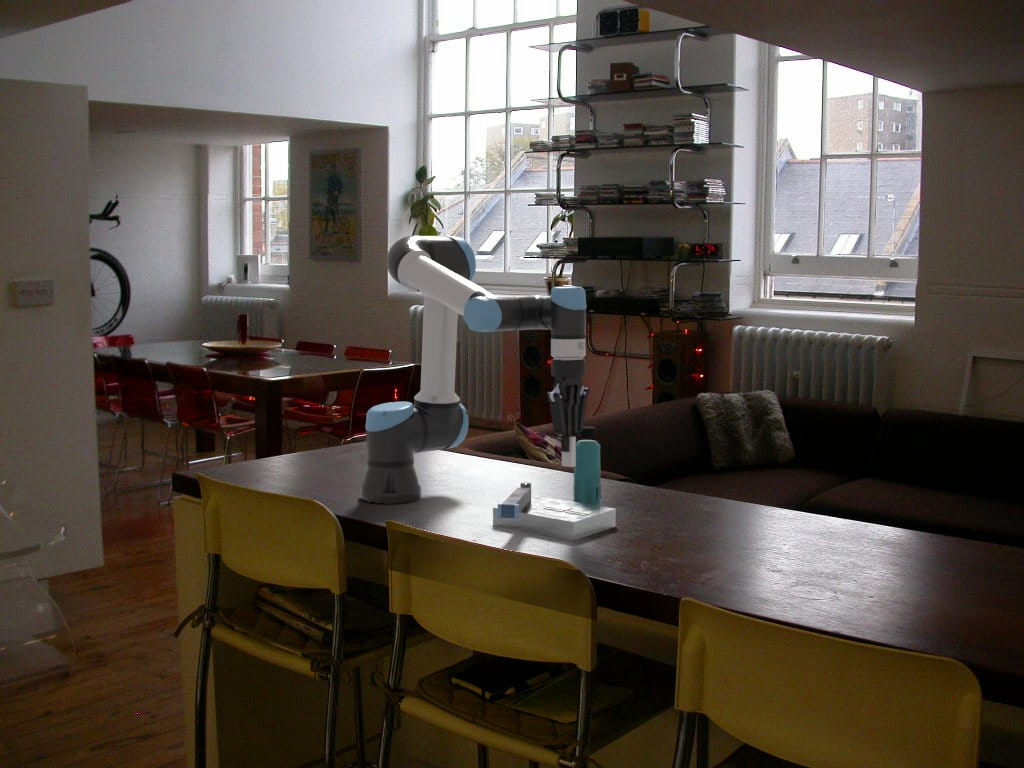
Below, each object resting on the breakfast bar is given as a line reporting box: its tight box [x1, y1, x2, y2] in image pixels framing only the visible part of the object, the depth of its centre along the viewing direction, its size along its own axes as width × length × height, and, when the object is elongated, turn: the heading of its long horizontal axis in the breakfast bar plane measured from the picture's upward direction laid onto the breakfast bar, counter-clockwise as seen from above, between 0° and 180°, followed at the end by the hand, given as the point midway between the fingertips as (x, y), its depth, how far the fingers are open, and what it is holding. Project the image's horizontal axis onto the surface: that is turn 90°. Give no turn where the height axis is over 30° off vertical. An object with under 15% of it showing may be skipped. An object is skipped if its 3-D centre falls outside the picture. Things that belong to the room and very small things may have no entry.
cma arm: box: [497, 487, 530, 519], centre depth 237 cm, size 18×4×3 cm, turn 169°
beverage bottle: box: [572, 425, 602, 506], centre depth 258 cm, size 6×7×20 cm
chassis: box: [492, 482, 617, 542], centre depth 243 cm, size 22×16×8 cm
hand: (568, 465), depth 240 cm, fingers closed
